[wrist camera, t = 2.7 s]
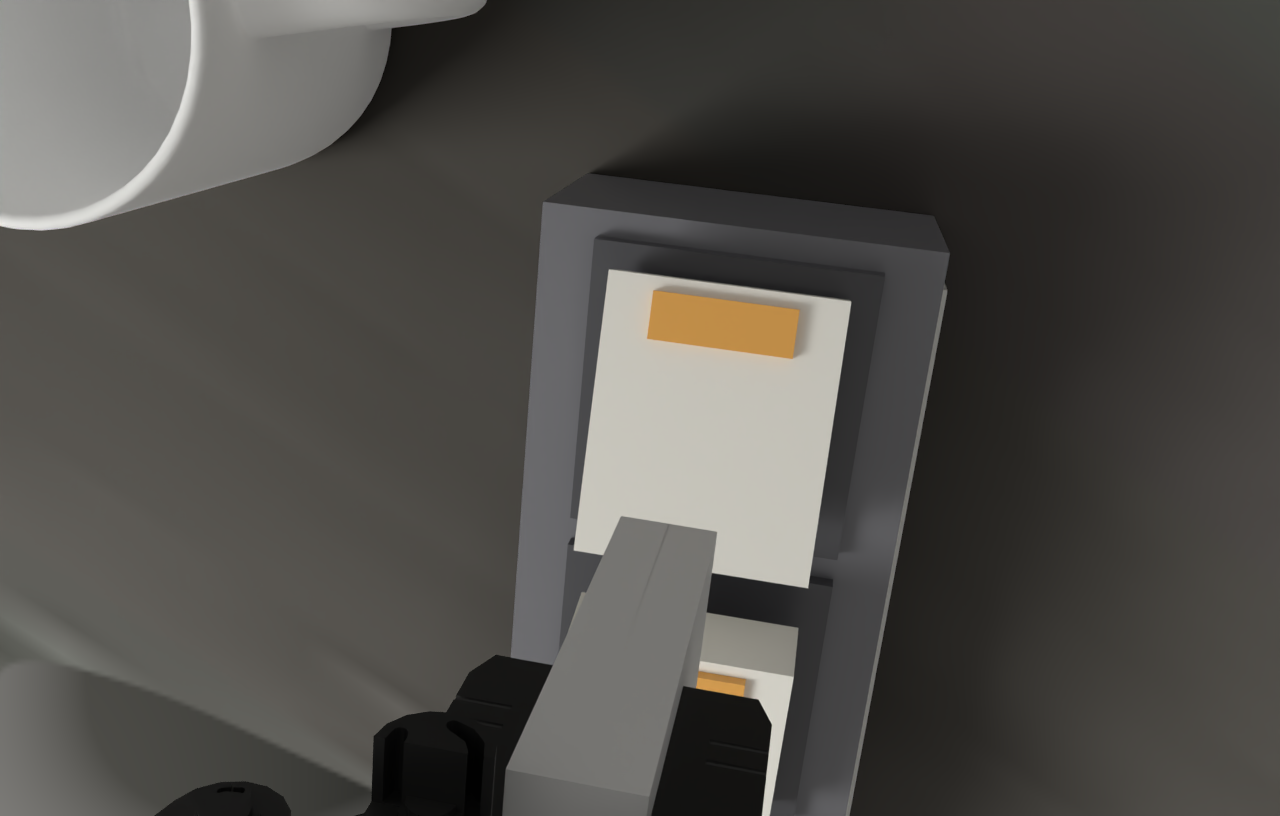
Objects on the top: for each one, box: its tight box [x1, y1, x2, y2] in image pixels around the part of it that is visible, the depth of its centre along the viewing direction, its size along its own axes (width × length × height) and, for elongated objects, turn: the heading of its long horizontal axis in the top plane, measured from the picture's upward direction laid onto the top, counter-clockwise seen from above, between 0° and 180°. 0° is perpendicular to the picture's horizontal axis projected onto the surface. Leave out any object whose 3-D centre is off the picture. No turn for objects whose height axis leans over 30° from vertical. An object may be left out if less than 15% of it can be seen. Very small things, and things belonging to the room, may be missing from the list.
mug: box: [0, 0, 487, 230], centre depth 26 cm, size 12×8×10 cm
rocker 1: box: [574, 269, 851, 588], centre depth 26 cm, size 5×6×2 cm
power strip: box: [511, 173, 950, 816], centre depth 33 cm, size 9×29×5 cm, turn 174°
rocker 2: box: [567, 592, 798, 816], centre depth 28 cm, size 5×6×2 cm
